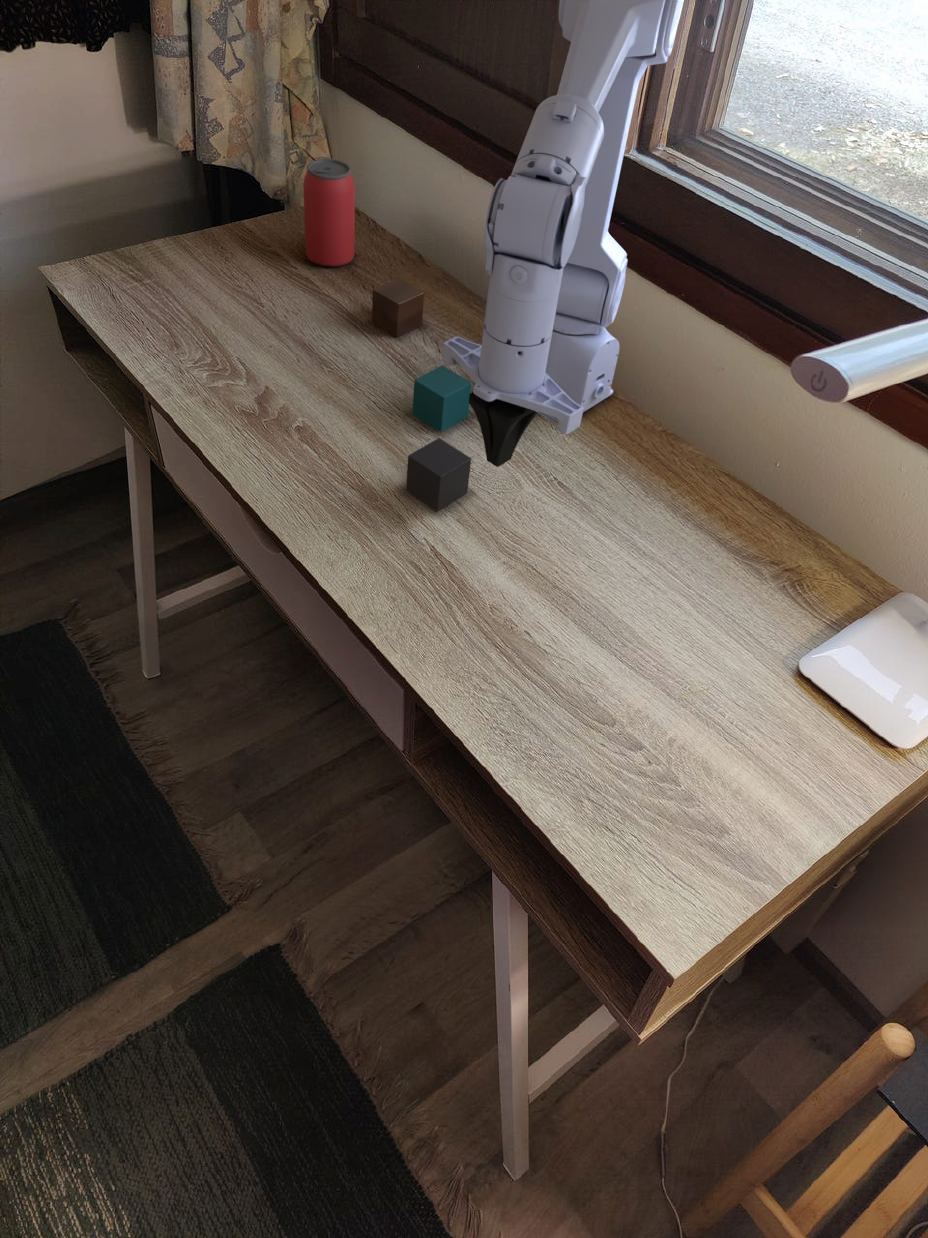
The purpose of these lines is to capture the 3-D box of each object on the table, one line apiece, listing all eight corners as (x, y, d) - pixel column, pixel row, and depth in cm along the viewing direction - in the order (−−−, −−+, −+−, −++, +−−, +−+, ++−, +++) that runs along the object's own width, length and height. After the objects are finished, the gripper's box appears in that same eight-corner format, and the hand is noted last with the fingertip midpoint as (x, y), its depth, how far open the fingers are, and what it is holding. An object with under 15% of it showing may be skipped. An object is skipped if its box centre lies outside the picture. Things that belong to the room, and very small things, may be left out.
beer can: (296, 252, 130) (293, 161, 121) (338, 242, 133) (337, 153, 124) (321, 273, 127) (319, 181, 118) (363, 262, 130) (364, 172, 121)
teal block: (468, 416, 108) (472, 382, 104) (440, 432, 105) (444, 397, 102) (439, 399, 109) (442, 364, 106) (411, 414, 107) (413, 379, 104)
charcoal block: (467, 493, 98) (471, 458, 95) (437, 512, 96) (440, 476, 93) (436, 472, 100) (439, 437, 97) (405, 490, 98) (407, 455, 95)
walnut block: (422, 325, 120) (424, 292, 117) (396, 337, 118) (398, 303, 114) (397, 311, 122) (398, 277, 119) (371, 322, 120) (372, 289, 116)
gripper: (421, 308, 80) (413, 440, 90) (555, 383, 74) (531, 516, 84) (477, 282, 84) (464, 412, 94) (609, 352, 78) (579, 483, 88)
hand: (498, 459), depth 89 cm, fingers closed
